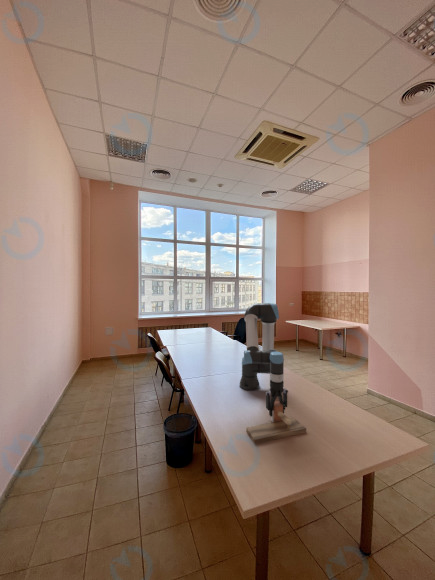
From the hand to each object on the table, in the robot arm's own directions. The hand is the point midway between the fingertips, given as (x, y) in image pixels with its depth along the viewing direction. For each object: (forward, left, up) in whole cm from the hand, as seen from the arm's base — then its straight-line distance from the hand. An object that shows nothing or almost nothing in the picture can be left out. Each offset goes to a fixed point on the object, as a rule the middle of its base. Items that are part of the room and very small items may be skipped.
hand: (276, 420), depth 132 cm
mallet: (+5, 0, 0) cm, 5 cm away
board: (+8, -5, -1) cm, 9 cm away
